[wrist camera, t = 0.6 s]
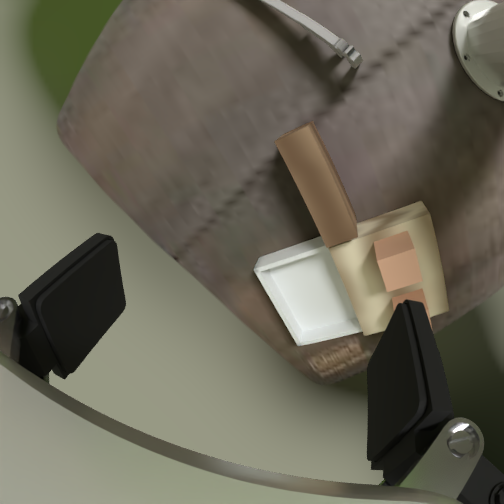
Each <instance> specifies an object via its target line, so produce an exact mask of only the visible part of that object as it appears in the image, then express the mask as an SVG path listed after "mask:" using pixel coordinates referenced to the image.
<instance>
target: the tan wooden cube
mask: <svg viewBox="0 0 504 504" xmlns="http://www.w3.org/2000/svg"><path fill="white" fill-rule="evenodd" d="M406 299H408V300H413V301H418V302H422V303H423V304H424V306H425V309H426V312H427V315H428V319H429V322H430V325H431V320H430V314H429V309H428V306H427V302H426V299H425V295H424V292H423V289H422V288H421V289H418V290H415V291H412V292H409V293H406V294H403V295H399V296H396V297H393V298H392V302H393V308H394V310H395V308H396V306H397V304H398V303H403V302H404V301H405V300H406ZM431 328H432V326H431Z"/></svg>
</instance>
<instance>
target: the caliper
mask: <svg viewBox="0 0 504 504" xmlns="http://www.w3.org/2000/svg"><path fill="white" fill-rule="evenodd" d="M260 1H262V2H263V3H265V4H267V5H269V6H270V7H272V8H274V9H276V10H277V11H279V12H281V13H282V14H284V15H286V16H287V17H289V18H290V19H292V20H294V21H295V22H297V23H298V24H300V25H301V26H302V27H303V28H304V29H306V30H307V31H309V32H310V33H312V34H313V35H315V36H316V37H318V38H319V39H321V40H322V41H324V42H325V43H327V44H328V45H329V46H330V47H331V48H332V49H333V50H334V51H335V52H336V53H337V55H338V56H340V57H341V58H343V57H346V58H347V60H348V61H349V63H350V64H351V66H352V67H353V68H355V69H356V68H357V67H358V66H359V65H360V64H361V62H362V61H363V59H362V57H361V55H360V54H359V53H358V52H357V51H356V50H355V49H354V47H353V46H351V45H350V46H349V45H348V43H347V42H346V41H345V40H344V39H343V38H341V39H340V38H339V37H337V36H336V35H334V34H333V33H332V32H330V31H329V30H327V29H326V28H324V27H323V26H321V25H320V24H318V23H317V22H315V21H314V20H312V19H311V18H309V17H308V16H306V15H305V14H302V13H300V12H299V11H297V10H295V9H294V8H292V7H290V6H289V5H287V4H285V3H284V2H282V1H280V0H260Z"/></svg>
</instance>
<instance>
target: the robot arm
mask: <svg viewBox="0 0 504 504" xmlns="http://www.w3.org/2000/svg"><path fill="white" fill-rule="evenodd" d="M463 14H464V15H465V16H464V15H463ZM452 34H453V43H454V47H455V51H456V54H457V56H458V58H459V61H460V63H461V65H462V67H463V68H464V70H465V72H466V73H467V75H468V76H469V77H470V79H471V80H472V81H473V82H474V83H475V84H476V85H477V86H478V87H479V88H480V89H481V90H482V91H483V92H485V93H486V94H487V95H489V96H491V97H493V98H494V99H497V100H500V101H504V2H502V3H500V4H498V3H495V2H493V1H488V0H474V1H471V2H469V3H467V4H465V5H464V6H463V7H461V8H460V9H459V11H458V12H457V14H456V15H455V18H454V22H453V30H452ZM464 56H465V57H466V60H465V59H464ZM498 93H499V94H498ZM19 299H20V301H21V304H20V305H19V306H18V305H17V302H16V300H14V299H13V298H10V297H1V298H0V504H504V475H503V474H502V473H501V472H500V471H499V470H498V469H497V468H496V467H495V466H494V465H492V464H491V463H490V462H489V461H488V460H487V459H486V458H484V456H482V452H483V449H484V439H483V435H482V433H481V431H480V429H479V427H477V425H475V424H474V423H473V422H472V421H470V420H468V419H465V418H454V414H453V408H452V403H451V398H450V394H449V389H448V385H447V381H446V377H445V372H444V368H443V364H442V360H441V357H440V353H439V351H438V348H437V345H436V342H435V339H434V335H433V332H432V328H431V325H430V322H429V319H428V315H427V312H426V309H425V306H424V304H423V303H422V302H418V301H413V300H408V299H406V300H405V301H404V302H403V303H398V304H397V306H396V308H395V310H394V313H393V315H392V317H391V319H390V321H389V323H388V325H387V328H386V330H385V332H384V334H383V336H382V338H381V340H380V342H379V344H378V346H377V348H376V350H375V351H374V353H373V355H372V357H371V359H370V361H369V364H368V368H367V381H368V382H367V384H368V437H367V439H368V440H367V459H368V461H371V470H383V478H384V480H383V481H382V482H381V483H380V484H379V485H369V484H354V483H342V482H333V481H325V480H318V479H311V478H304V477H298V476H291V475H286V474H280V473H275V472H270V471H265V470H260V469H256V468H252V467H247V466H243V465H239V464H235V463H232V462H228V461H224V460H221V459H217V458H214V457H210V456H207V455H204V454H201V453H198V452H195V451H192V450H188V449H186V448H182V447H180V446H177V445H174V444H171V443H169V442H166V441H163V440H161V439H158V438H155V437H153V436H151V435H148V434H145V433H143V432H141V431H139V430H136V429H134V428H132V427H129V426H127V425H125V424H123V423H121V422H119V421H116V420H114V419H112V418H110V417H108V416H106V415H104V414H102V413H100V412H98V411H96V410H94V409H92V408H90V407H88V406H86V405H85V404H83V403H81V402H79V401H77V400H75V399H74V398H72V397H70V396H68V395H67V394H65V393H63V392H61V391H60V390H58V389H56V388H55V387H53V386H51V385H50V384H49V372H50V371H51V370H52V371H53V372H54V373H55V374H56V375H58V376H60V377H61V378H63V379H66V377H67V376H68V375H69V374H70V373H73V372H74V371H75V370H76V369H77V368H78V366H79V365H80V364H81V363H82V361H83V360H84V359H85V357H86V356H87V355H88V354H89V352H90V351H91V350H92V349H93V347H94V346H95V345H96V344H97V343H98V341H99V340H100V339H101V338H102V336H103V335H104V334H105V333H106V331H107V330H108V329H109V328H110V327H111V325H112V324H113V323H114V322H115V321H116V319H117V318H118V317H119V316H120V315H121V313H122V312H123V311H124V309H125V306H126V301H125V295H124V289H123V283H122V277H121V271H120V264H119V257H118V249H117V244H116V243H115V241H114V239H113V237H111V236H109V235H104V234H100V233H96V234H95V235H93V236H92V237H91V238H89V239H88V240H86V241H85V242H84V243H82V244H81V245H80V246H78V247H77V248H76V249H74V250H73V251H72V252H70V253H69V254H68V255H67V256H65V257H64V258H63V259H61V260H60V261H59V262H58V263H56V264H55V265H54V266H53V267H51V268H50V269H49V270H48V271H46V272H45V273H44V274H43V275H41V276H40V277H39V278H38V279H37V280H35V281H34V282H33V283H32V284H31V285H29V287H27V288H26V289H25V290H24V291H23V292H21V293H20V294H19Z"/></svg>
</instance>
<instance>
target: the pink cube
mask: <svg viewBox="0 0 504 504" xmlns="http://www.w3.org/2000/svg"><path fill="white" fill-rule="evenodd" d="M374 247H375V252H376V258H377V263H378V266H379V268H380V271H381V274H382V278H383V281H384V284H385V287H386V290H387V292H390V291H393V290H396V289H400V288H403V287H406V286H409V285H412V284H415V283H418V282H421V281H423V280H422V276H421V271H420V267H419V263H418V259H417V255H416V251H415V248H414V245H413V243H412V240H411V238H410V236H409V233H408V231H404V232H402V233H399V234H396V235H393V236H390V237H387V238H384V239H381V240H378V241H375V242H374Z"/></svg>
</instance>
